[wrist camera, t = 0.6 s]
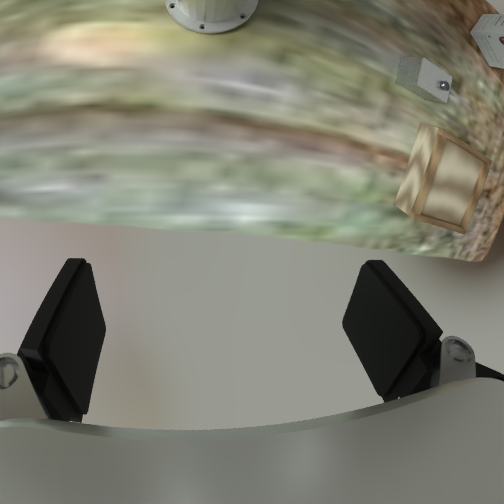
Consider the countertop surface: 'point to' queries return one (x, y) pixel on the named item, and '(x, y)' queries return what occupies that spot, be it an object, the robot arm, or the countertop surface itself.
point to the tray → (442, 180)
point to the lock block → (423, 79)
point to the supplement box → (490, 38)
